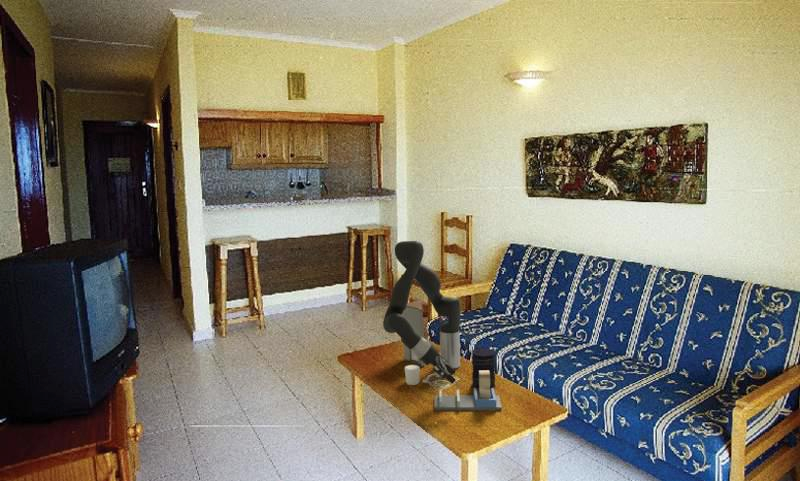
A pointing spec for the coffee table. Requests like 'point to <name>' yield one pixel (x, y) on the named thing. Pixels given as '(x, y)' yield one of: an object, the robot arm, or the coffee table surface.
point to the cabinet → (414, 327)
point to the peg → (484, 384)
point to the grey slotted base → (467, 402)
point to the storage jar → (483, 365)
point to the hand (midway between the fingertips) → (453, 377)
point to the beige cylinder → (412, 374)
